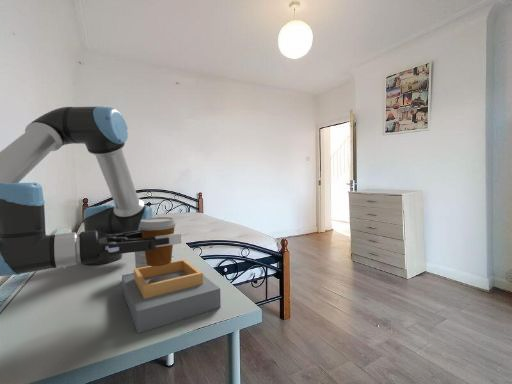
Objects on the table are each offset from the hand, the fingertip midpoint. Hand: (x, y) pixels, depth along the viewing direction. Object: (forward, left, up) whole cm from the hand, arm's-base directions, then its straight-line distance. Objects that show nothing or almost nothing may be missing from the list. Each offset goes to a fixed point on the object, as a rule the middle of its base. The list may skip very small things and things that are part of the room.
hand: (175, 235), depth 74 cm
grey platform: (-2, -3, -18) cm, 18 cm away
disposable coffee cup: (0, -5, -7) cm, 9 cm away
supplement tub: (-23, -3, -18) cm, 30 cm away
